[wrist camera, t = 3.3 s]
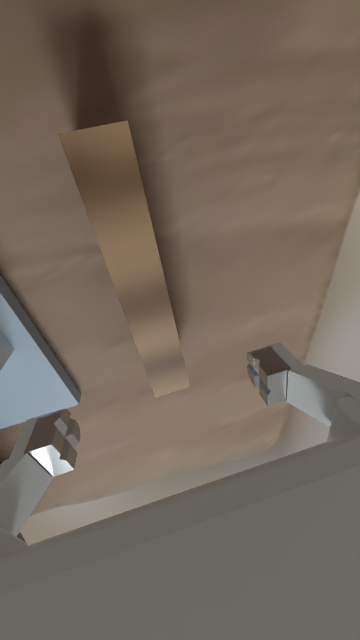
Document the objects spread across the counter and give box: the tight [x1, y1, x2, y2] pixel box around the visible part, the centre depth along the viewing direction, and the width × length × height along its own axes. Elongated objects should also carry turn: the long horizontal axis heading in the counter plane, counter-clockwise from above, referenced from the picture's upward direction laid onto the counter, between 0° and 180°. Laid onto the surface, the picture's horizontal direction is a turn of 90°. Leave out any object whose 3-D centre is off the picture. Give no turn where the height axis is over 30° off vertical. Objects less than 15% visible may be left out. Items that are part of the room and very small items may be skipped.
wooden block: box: [58, 120, 190, 397], centre depth 19 cm, size 20×4×6 cm, turn 11°
